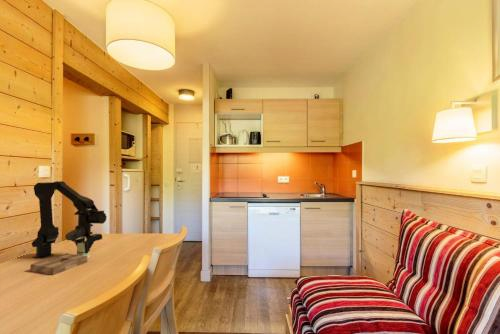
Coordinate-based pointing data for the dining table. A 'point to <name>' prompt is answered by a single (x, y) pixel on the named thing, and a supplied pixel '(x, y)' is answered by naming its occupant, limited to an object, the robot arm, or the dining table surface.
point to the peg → (82, 250)
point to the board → (58, 264)
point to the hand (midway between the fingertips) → (83, 252)
